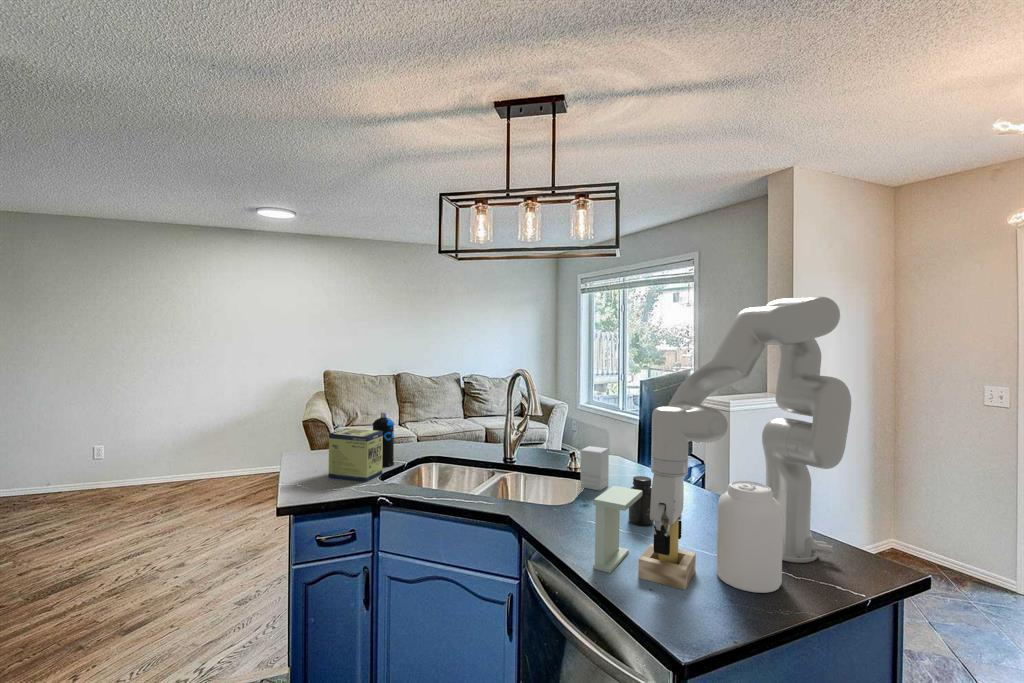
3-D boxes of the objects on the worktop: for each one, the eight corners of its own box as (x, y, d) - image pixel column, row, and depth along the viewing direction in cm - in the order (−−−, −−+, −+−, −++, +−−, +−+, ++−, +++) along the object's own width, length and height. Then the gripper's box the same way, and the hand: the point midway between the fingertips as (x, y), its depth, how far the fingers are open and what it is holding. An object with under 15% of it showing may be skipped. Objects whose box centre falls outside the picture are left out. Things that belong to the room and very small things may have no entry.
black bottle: (368, 466, 193) (368, 413, 193) (377, 461, 201) (377, 410, 201) (389, 468, 192) (389, 414, 191) (397, 462, 200) (397, 411, 200)
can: (750, 599, 101) (752, 497, 100) (703, 571, 112) (705, 480, 112) (795, 587, 106) (797, 490, 105) (745, 562, 117) (747, 474, 117)
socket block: (695, 571, 112) (695, 553, 112) (685, 590, 104) (685, 570, 104) (651, 560, 117) (651, 543, 117) (638, 577, 109) (638, 558, 109)
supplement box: (609, 485, 174) (609, 448, 173) (600, 491, 167) (601, 452, 167) (588, 482, 178) (589, 445, 177) (579, 487, 171) (580, 449, 171)
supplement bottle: (655, 527, 137) (655, 482, 137) (628, 525, 138) (629, 480, 138) (653, 518, 144) (654, 475, 143) (628, 516, 145) (628, 473, 145)
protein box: (367, 482, 174) (367, 436, 174) (327, 478, 179) (327, 433, 178) (383, 474, 184) (383, 430, 184) (345, 470, 189) (345, 427, 188)
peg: (660, 568, 113) (661, 514, 113) (679, 573, 111) (680, 517, 111) (655, 575, 110) (656, 519, 110) (674, 580, 108) (676, 523, 108)
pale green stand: (641, 555, 120) (642, 490, 119) (623, 576, 109) (625, 505, 109) (612, 548, 123) (613, 485, 123) (592, 568, 113) (594, 499, 113)
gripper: (662, 455, 119) (661, 528, 120) (639, 472, 105) (638, 556, 105) (696, 459, 115) (694, 535, 116) (677, 478, 101) (675, 565, 101)
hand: (667, 545), depth 110 cm, fingers open, 9 cm apart
